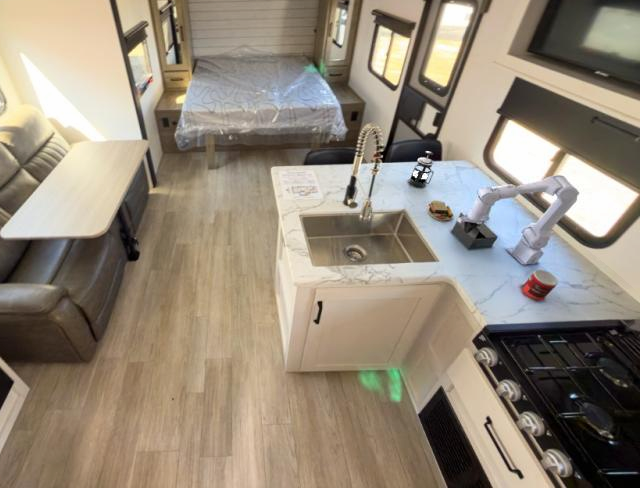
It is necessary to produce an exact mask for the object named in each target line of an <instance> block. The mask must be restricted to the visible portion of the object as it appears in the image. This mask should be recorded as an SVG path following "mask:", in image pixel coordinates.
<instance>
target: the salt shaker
mask: <svg viewBox="0 0 640 488" xmlns="http://www.w3.org/2000/svg"><path fill="white" fill-rule="evenodd" d="M495 203H496V202H495ZM495 203H493V204H491V205H490V207H489V208H488V210H487V212H486V213H485V215H488V216H489V217H490V213H491V209H492V207H494V206H495Z"/></svg>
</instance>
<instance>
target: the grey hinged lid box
mask: <svg viewBox="0 0 640 488" xmlns="http://www.w3.org/2000/svg"><path fill="white" fill-rule="evenodd" d="M477 228H478V229H479V230H480V231H479V233H478V234H477V236H476V238H475V239H473V238H472V237H471V236H470V235H469V234H468V233H466V232H465V231H464V229H463V228H462V227H461V226H460V225H459V224H458V223H457V222H455V223H454V225H453V227H452V229H451V233H452V234H453V235H454V236H455V237H456V238H457V239H458V240H459V241H460V242H461V243H462V245H464V247H466V249H467V250H475V249H484V248H492V247H493V245H494V244H495V242H496V241H497V239H498V235H497V234H496V233H495V232H494V231H492V230H491V229H490V228H489V227H488V226H487V225H486V224H485V223H484V222H482V224H481V225H480V226H477Z"/></svg>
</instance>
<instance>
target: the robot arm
mask: <svg viewBox="0 0 640 488" xmlns="http://www.w3.org/2000/svg"><path fill="white" fill-rule="evenodd" d="M540 192H543V193H545V194H547V195H548V196H549V195H550V196H553V197H554V196H556V198H555V200H554V201H553V202H552V204H551V205H550V206H549V207H548V208H547V209H546V210H545V212H544V213H543V214H542V215H541V216H540V218H539V219H538V220H537V221H536V222H533V223H532V222H531V223H529V224H528V225H527V226H525V227H524V228H523V229H522V230H521V234H522V235H521V238H520V239H519V241H518V242H517V244H516V245H515V246H514V248H509V249H507V252H508V253H509V254H511V256H512V257H513V258H515V259H516V260H517V261H518V262H519V263H520V264H522V265H523V266H524V265H533V264H538V261H539V260H540V259H542V256H543V255H544V251H543V250H542V249H543V248H546V247H547V246H548V242H549V241H550V239H551V232H550V231H551V230H552V229H553V228H554V227H555V226H556V225H557V224H558V222H559V221H560V220H561V219H562V218H563V217H564V216H565V215H566V213H567V212H568V211H569V210H570V209H571V208H572V207H573V206H574V205H575V204H576V203H577V200H578V196H579V195H580V191H579V190H578V189H577V188H576V187H575V186H574V185H573V184H572V183H571V182H570V181H568V179H567V178H566V177H565V176H564V175H561V174H556V175H553V176H552V175H551V176H547V177H546V178H544V179H542V180H538V181H533V182H528V183H524V184H520V185H515V184H512V183H511V184H510V183H507V184H505V185H499V186H493V187H491V186H483V187H481V188H479V189H477V190H476V194H477V196H476V199H475V200H474V202H473V204H472V206H471V208H470V209H469V211H468V213H467V214H464V215H465V216H463V217H460V218H458V217H457V219H458V220H457V219H456V221H458V222H459V223H462V222H464V231H465V232H466V233H469V232H471V231H472V230H473V229H474V228H476V227H477V226H480V225H481V224H482V223H483V222H485V221H489V220H490V215H489V216H488V215H485V213H486V212H487V210H488V208H489V207H490V205H491V204H493V203H496V202H497V201H500V200H506V199H511V198H516V197H518V195H521V194H530V193H540Z"/></svg>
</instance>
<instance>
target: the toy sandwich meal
mask: <svg viewBox="0 0 640 488" xmlns="http://www.w3.org/2000/svg"><path fill="white" fill-rule="evenodd" d="M427 209H428V213H429V214H430V216H431V217H432V218H434V219H436V220H438V221H442V222H446V221H451V220H453V218H454V213H453V212H452V210H451V208H450V206H449V205H446V203H445V202H444V201H441V200H432V201H431V202H430V203H428V208H427Z"/></svg>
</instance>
